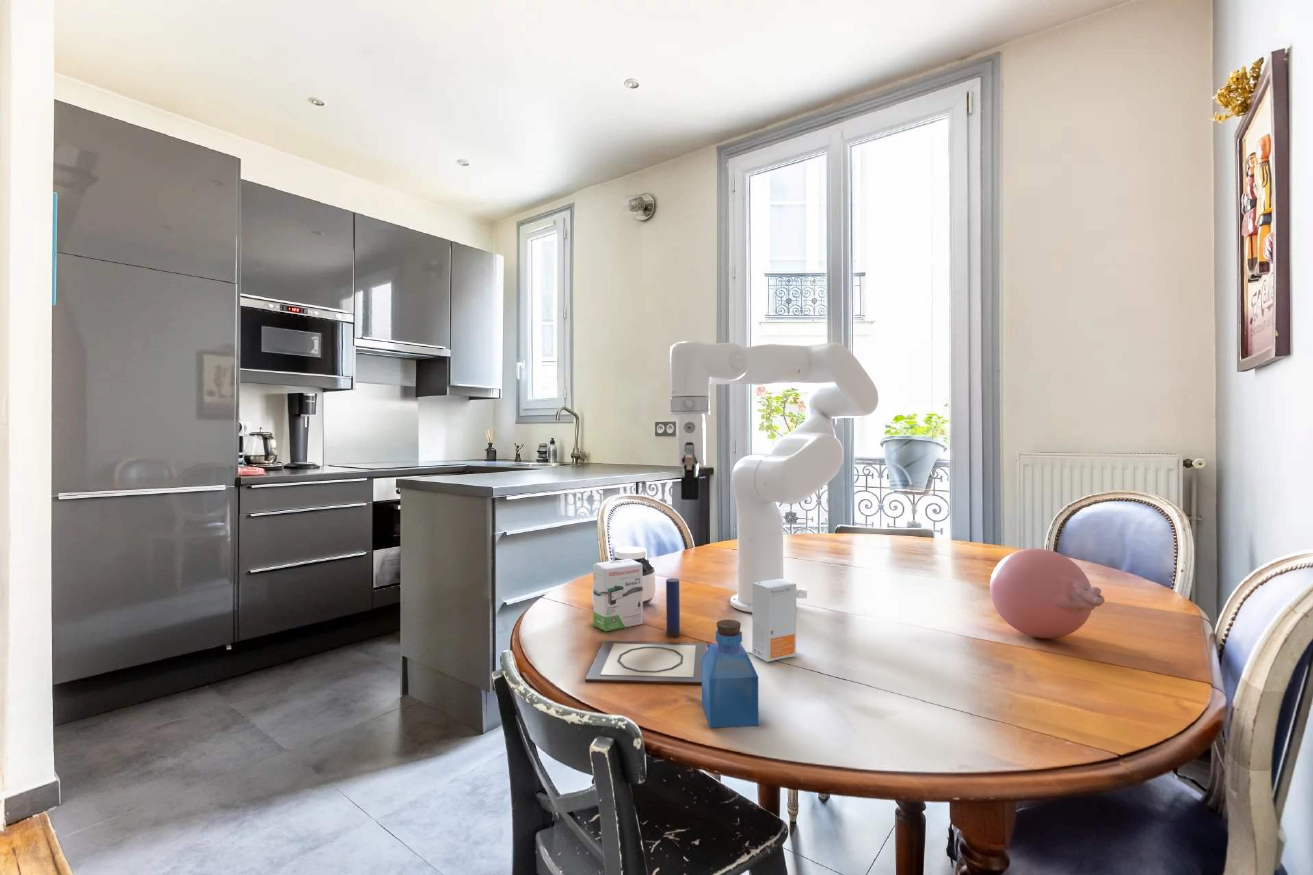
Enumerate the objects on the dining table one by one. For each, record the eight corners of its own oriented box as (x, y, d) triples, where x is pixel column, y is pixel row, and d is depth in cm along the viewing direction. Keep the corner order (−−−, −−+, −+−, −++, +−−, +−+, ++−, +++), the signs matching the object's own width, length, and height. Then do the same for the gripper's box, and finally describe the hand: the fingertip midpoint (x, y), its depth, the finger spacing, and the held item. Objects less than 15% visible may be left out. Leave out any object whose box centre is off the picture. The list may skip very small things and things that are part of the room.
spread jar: (660, 603, 129) (660, 548, 129) (630, 617, 120) (629, 558, 119) (615, 595, 136) (614, 543, 135) (583, 608, 126) (582, 552, 126)
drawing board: (707, 645, 104) (707, 641, 104) (706, 684, 88) (706, 680, 88) (604, 642, 106) (604, 639, 106) (585, 681, 90) (585, 677, 90)
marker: (680, 632, 110) (679, 578, 110) (679, 637, 108) (679, 581, 108) (667, 632, 111) (666, 578, 111) (666, 637, 108) (665, 581, 108)
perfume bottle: (702, 705, 82) (701, 616, 82) (747, 702, 82) (746, 615, 82) (709, 727, 76) (709, 632, 75) (758, 725, 76) (757, 630, 76)
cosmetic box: (767, 663, 96) (767, 588, 96) (751, 654, 100) (751, 582, 99) (797, 656, 99) (797, 583, 98) (780, 648, 102) (780, 577, 102)
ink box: (604, 632, 111) (604, 568, 111) (592, 625, 115) (591, 563, 115) (644, 623, 116) (643, 562, 116) (631, 616, 120) (630, 557, 120)
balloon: (1051, 665, 94) (1052, 566, 94) (971, 623, 114) (971, 542, 114) (1141, 660, 96) (1142, 563, 95) (1047, 620, 115) (1047, 539, 115)
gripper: (709, 405, 107) (710, 502, 107) (709, 408, 124) (710, 491, 124) (667, 405, 107) (668, 502, 108) (673, 408, 124) (674, 491, 125)
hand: (690, 496), depth 116 cm, fingers open, 9 cm apart
